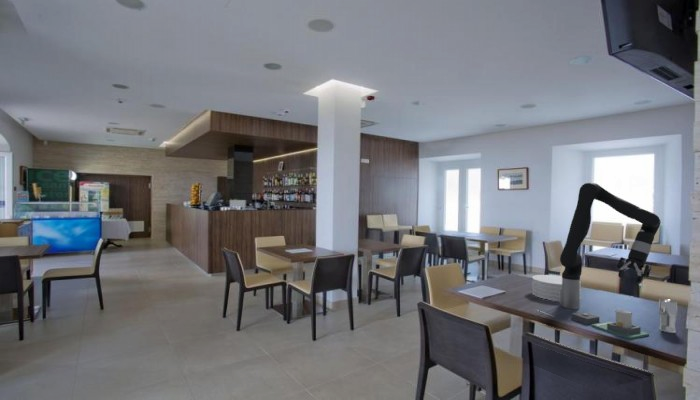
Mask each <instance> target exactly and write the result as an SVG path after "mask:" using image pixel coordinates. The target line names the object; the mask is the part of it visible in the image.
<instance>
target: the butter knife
mask: <svg viewBox="0 0 700 400" xmlns="http://www.w3.org/2000/svg"><path fill="white" fill-rule="evenodd" d="M536 310H537V311H536V312H539V309H536ZM541 312H542V314H545V315H547V316H551V317H553V318H555V317H556V316H554V315H552V314H549V313H547V312H545V311H542V310H540V312H539V313H541Z"/></svg>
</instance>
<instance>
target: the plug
mask: <svg viewBox="0 0 700 400" xmlns="http://www.w3.org/2000/svg"><path fill="white" fill-rule="evenodd" d="M632 319H633V313H632V312H630V311H627V310H624V309H619V310H615V322H616V326H619V327H622V328H625V329H627V328H632V325H633V324H632V323H633V320H632Z"/></svg>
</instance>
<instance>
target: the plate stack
mask: <svg viewBox="0 0 700 400" xmlns="http://www.w3.org/2000/svg"><path fill="white" fill-rule="evenodd" d="M531 279H532V281H531V290H532V291H531V295H532V294H533V295H535V296H537V297H540V298H544V299H548V300H553V301H552V302H554V301H560V290H561V289H562V275H554V274H552V275H551V274H536V275H532V277H531ZM581 285H582V282H581V281H580V301H581V295H582V291H581V288H582V286H581ZM533 295H532V296H533ZM535 296H534V297H535ZM537 297H536V298H537ZM540 298H539V299H540ZM544 299H543V300H544ZM548 300H547V301H548Z"/></svg>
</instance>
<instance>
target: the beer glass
mask: <svg viewBox="0 0 700 400" xmlns="http://www.w3.org/2000/svg"><path fill="white" fill-rule="evenodd" d="M658 300H659V301H658V314H659V320H660V325H659V327H658V328H659V330H660V331H661V332H663V333H669V334H676V332H677V331H676V325H675V324H676V320H677V316H678V302H677V301H676V300H673V299H668V298H659V299H658Z"/></svg>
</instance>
